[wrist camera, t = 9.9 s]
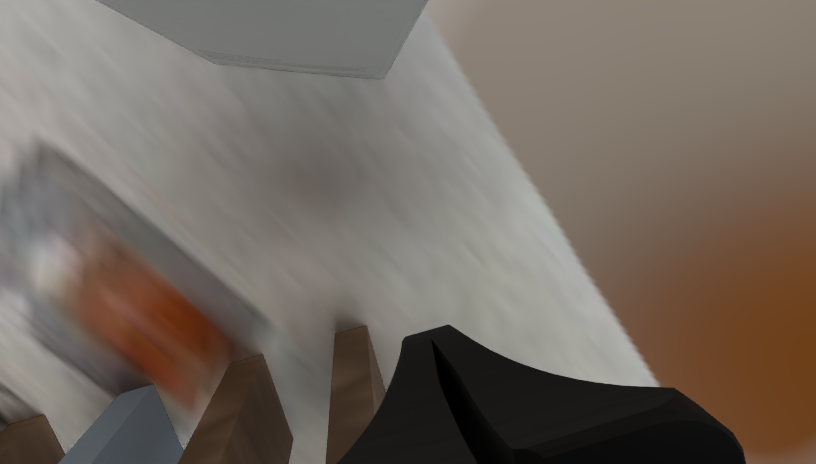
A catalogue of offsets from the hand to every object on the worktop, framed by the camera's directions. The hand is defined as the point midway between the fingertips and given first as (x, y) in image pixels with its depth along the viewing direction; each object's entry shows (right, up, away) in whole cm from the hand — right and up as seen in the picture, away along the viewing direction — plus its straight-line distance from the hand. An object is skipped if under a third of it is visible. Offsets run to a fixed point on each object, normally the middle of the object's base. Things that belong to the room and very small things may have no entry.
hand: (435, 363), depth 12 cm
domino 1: (-3, -4, +11) cm, 12 cm away
